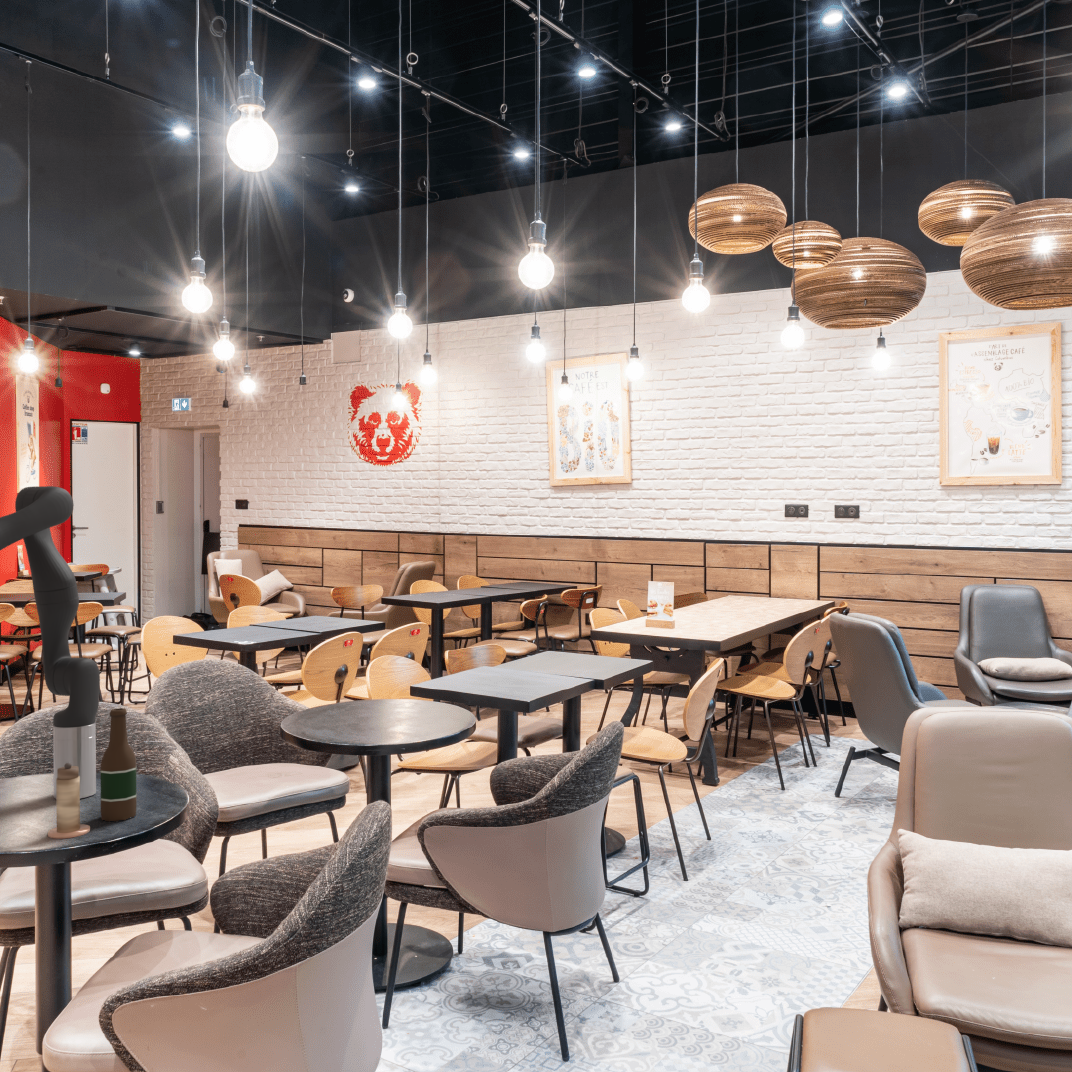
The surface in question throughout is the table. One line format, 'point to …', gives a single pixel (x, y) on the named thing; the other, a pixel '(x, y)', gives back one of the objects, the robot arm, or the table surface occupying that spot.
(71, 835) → the saucer
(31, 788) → the table surface
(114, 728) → the beer bottle
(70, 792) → the pepper mill
